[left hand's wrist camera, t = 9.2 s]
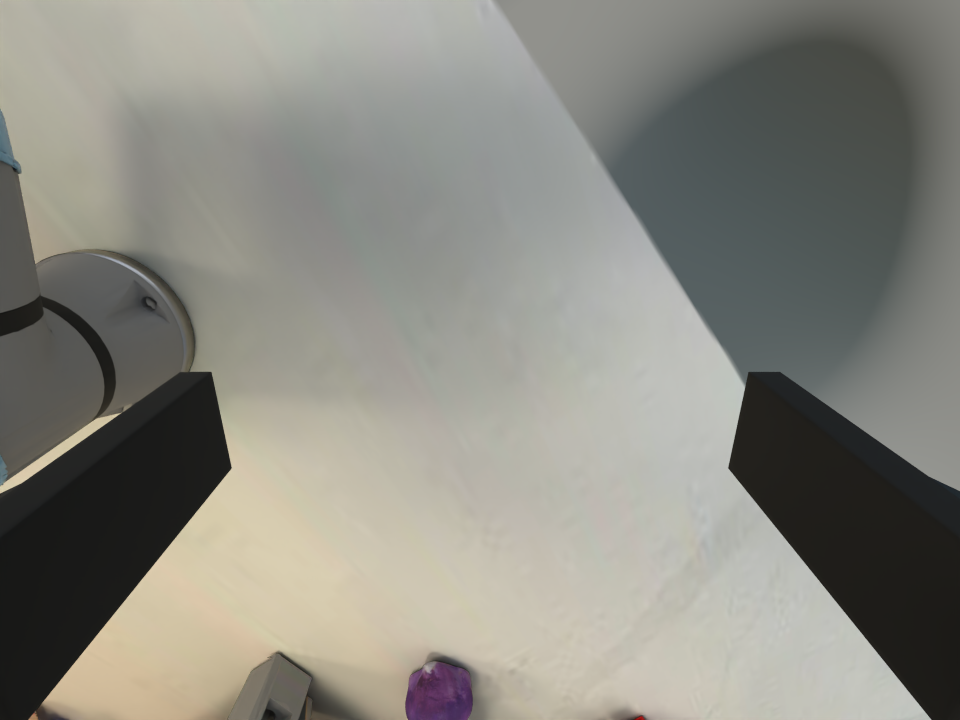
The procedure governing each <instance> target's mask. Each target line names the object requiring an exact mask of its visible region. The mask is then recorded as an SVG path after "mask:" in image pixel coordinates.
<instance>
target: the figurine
mask: <svg viewBox="0 0 960 720" xmlns="http://www.w3.org/2000/svg"><path fill="white" fill-rule="evenodd" d="M471 688H472V686H471V678H470V674H469V672H467V671H466V669H463V668H460V667H459V668H458V667H455V666H452V665H450V664H446V663H443V662H437V661H432V662H427V663H426V664H425V665H424V666H423V669H421V670H419V671H417V672H415V673H413V674H412V675H411V676H410V678H409V687H408V692H407V697H406V703H405V708H406V715H407V718H408V720H467V719H468V717H469V716H470V714H471V711H472V705H473V697H472V689H471Z"/></svg>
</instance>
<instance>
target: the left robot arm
mask: <svg viewBox="0 0 960 720" xmlns="http://www.w3.org/2000/svg"><path fill="white" fill-rule="evenodd" d="M20 173H21V167H20V164H19V163H18V162H17V161H16V160H15V159H14V156H13V152H12V148H11V144H10V139H9V135H8V131H7V127H6V123H5V119H4V116H3V114H2V111H1V109H0V486H1V485H3V483H4V482H6V481H7V480H9V479H10V478H11V477H13V476H14V475H16V474H17V473H19V472H20V471H21V470H23V469H24V468H26V467H27V466H29V465H30V464H31V463H33V462H34V461H36V460H37V459H39V458H40V457H42V456H43V455H44V454H46V453H47V452H49V451H50V450H52V449H53V448H54V447H56V446H57V445H59V444H60V443H62V442H63V441H65V440H66V439H67V438H69V437H70V436H72V435H73V434H75V433H76V432H77V431H79V430H80V429H82V428H83V427H85V426H86V425H87V424H89V423H90V422H92V421H93V420H95V419H96V418H100V417H105V416H109V415H113V414H117V413H121V414H120V415H118V416H117V417H115V418H114V419H113V420H111V421H110V422H108V423H107V424H105V425H104V426H103V427H101V428H100V429H98V430H97V431H96V432H94V433H93V434H91V435H90V436H88V437H87V438H86V439H84V440H83V441H81V442H80V443H78V444H77V445H76V446H74V447H73V448H71V449H70V450H69V451H67V452H66V453H64V454H63V455H61V456H60V457H59V458H57V459H56V460H54V461H53V462H51V463H50V464H49V465H47V466H46V467H44V468H43V469H42V470H40V471H39V472H37V473H36V474H34V475H33V476H32V477H30V478H29V479H27V480H26V481H24V482H23V483H21V484H19V485H17V486H15V487H13V488H11V489H9V490H7V491H5V492H3V493H1V494H0V720H29V718H30V717H31V716H32V715H33V713H34V712H35V711H36V710H37V708H38V707H39V706H40V705H41V704H42V702H43V701H44V700H45V699H46V697H47V696H48V695H49V694H50V692H51V691H52V690H53V689H54V687H55V686H56V685H57V684H58V682H59V681H60V680H61V679H62V678H63V676H64V675H65V674H66V673H67V671H68V670H69V669H70V668H71V666H72V665H73V664H74V663H75V661H76V660H77V659H78V658H79V656H80V655H81V654H82V653H83V652H84V650H85V649H86V648H87V647H88V645H89V644H90V643H91V642H92V640H93V639H94V638H95V637H96V635H97V634H98V633H99V632H100V631H101V629H102V628H103V627H104V626H105V624H106V623H107V622H108V621H109V619H110V618H111V617H112V616H113V614H114V613H115V612H116V611H117V609H118V608H119V607H120V606H121V605H122V603H123V602H124V601H125V600H126V598H127V597H128V596H129V595H130V593H131V592H132V591H133V590H134V588H135V587H136V586H137V585H138V583H139V582H140V581H141V580H142V579H143V577H144V576H145V575H146V574H147V572H148V571H149V570H150V569H151V567H152V566H153V565H154V564H155V562H156V561H157V560H158V559H159V557H160V556H161V555H162V554H163V553H164V551H165V550H166V549H167V548H168V546H169V545H170V544H171V543H172V541H173V540H174V539H175V538H176V536H177V535H178V534H179V533H180V532H181V530H182V529H183V528H184V527H185V525H186V524H187V523H188V522H189V520H190V519H191V518H192V517H193V515H194V514H195V513H196V512H197V510H198V509H199V508H200V507H201V506H202V504H203V503H204V502H205V501H206V499H207V498H208V497H209V496H210V494H211V493H212V492H213V491H214V489H215V488H216V487H217V486H218V484H219V483H220V482H221V481H222V480H223V478H224V477H225V476H226V475H227V473H228V472H229V471H230V470H231V468H232V467H231V463H230V458H229V453H228V448H227V444H226V439H225V434H224V429H223V425H222V420H221V415H220V410H219V406H218V401H217V396H216V391H215V387H214V382H213V377H212V372H188V371H189V369H190V367H191V364H192V360H193V356H194V335H193V330H192V326H191V323H190V320H189V317H188V315H187V313H186V311H185V309H184V307H183V305H182V303H181V302H180V300H179V299H178V297H177V296H176V294H175V293H174V292H173V291H172V289H171V288H170V287H169V286H168V285H167V284H166V283H165V282H164V281H163V280H162V279H161V278H160V277H159V276H157V275H156V274H155V273H154V272H152V271H151V270H149V269H148V268H147V267H145V266H143V265H142V264H140V263H138V262H136V261H134V260H132V259H130V258H128V257H125V256H123V255H120V254H116V253H113V252H108V251H103V250H89V249H87V250H77V251H72V252H67V253H63V254H58V255H55V256H51V257H48V258H46V259H44V260H42V261H40V262H38V263H37V264H35V260H34V255H33V250H32V245H31V239H30V234H29V229H28V224H27V218H26V213H25V208H24V203H23V197H22V192H21V187H20V182H19V176H18V174H20ZM728 468H729V470H730V471H731V472H732V473H733V475H734V476H735V477H736V478H737V480H738V481H739V482H740V483H741V484H742V486H743V487H744V488H745V489H746V491H747V492H748V493H749V494H750V496H751V497H752V498H753V499H754V501H755V502H756V503H757V504H758V506H759V507H760V508H761V509H762V510H763V512H764V513H765V514H766V515H767V517H768V518H769V519H770V520H771V522H772V523H773V524H774V525H775V527H776V528H777V529H778V530H779V532H780V533H781V534H782V535H783V536H784V538H785V539H786V540H787V541H788V543H789V544H790V545H791V546H792V548H793V549H794V550H795V551H796V553H797V554H798V555H799V556H800V557H801V559H802V560H803V561H804V562H805V564H806V565H807V566H808V567H809V569H810V570H811V571H812V572H813V574H814V575H815V576H816V577H817V579H818V580H819V581H820V582H821V583H822V585H823V586H824V587H825V588H826V590H827V591H828V592H829V593H830V595H831V596H832V597H833V598H834V600H835V601H836V602H837V603H838V605H839V606H840V607H841V608H842V609H843V611H844V612H845V613H846V614H847V616H848V617H849V618H850V619H851V621H852V622H853V623H854V624H855V626H856V627H857V628H858V629H859V631H860V632H861V633H862V634H863V635H864V637H865V638H866V639H867V640H868V642H869V643H870V644H871V645H872V647H873V648H874V649H875V650H876V652H877V653H878V654H879V655H880V656H881V658H882V659H883V660H884V661H885V663H886V664H887V665H888V666H889V668H890V669H891V670H892V671H893V673H894V674H895V675H896V676H897V678H898V679H899V680H900V681H901V682H902V684H903V685H904V686H905V687H906V689H907V690H908V691H909V692H910V694H911V695H912V696H913V697H914V699H915V700H916V701H917V702H918V704H919V705H920V706H921V707H922V708H923V710H924V711H925V712H926V713H927V715H928V716H929V717H930V718H931V720H960V491H958V490H956V489H954V488H952V487H949V486H947V485H945V484H943V483H941V482H939V481H937V480H935V479H933V478H931V477H928V476H927V475H926V474H924V473H923V472H921V471H920V470H918V469H917V468H916V467H914V466H913V465H911V464H910V463H909V462H907V461H906V460H904V459H903V458H901V457H900V456H899V455H897V454H896V453H894V452H893V451H891V450H890V449H889V448H887V447H886V446H884V445H883V444H882V443H880V442H879V441H877V440H876V439H874V438H873V437H872V436H870V435H869V434H867V433H866V432H864V431H863V430H862V429H860V428H859V427H857V426H856V425H855V424H853V423H852V422H850V421H849V420H847V419H846V418H845V417H843V416H842V415H840V414H839V413H837V412H836V411H835V410H833V409H832V408H830V407H829V406H828V405H826V404H825V403H823V402H822V401H820V400H819V399H818V398H816V397H815V396H813V395H812V394H810V393H809V392H808V391H806V390H805V389H803V388H802V387H800V386H799V385H798V384H796V383H795V382H793V381H792V380H791V379H789V378H788V377H786V376H785V375H783V374H782V373H781V372H749V373H748V377H747V382H746V387H745V391H744V396H743V401H742V406H741V410H740V415H739V420H738V425H737V429H736V434H735V439H734V444H733V448H732V453H731V458H730V463H729V467H728Z"/></svg>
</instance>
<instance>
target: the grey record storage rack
mask: <svg viewBox="0 0 960 720" xmlns="http://www.w3.org/2000/svg"><path fill="white" fill-rule="evenodd" d="M267 658H272V659H270V660H269V661H267V662H265V663H264V664H262V665H261V666H259V667H258V668H256V669H254V670H253V671H251V672H250V674H249V676H248V678H247V680H246V682H245V684H244V687H243V689H242V691H241V693H240V695H239V697H238V699H237V701H236V703H235V705H234V707H233V709H232V711H231V713H230V715H229V717H228V719H227V720H311V710H312V701H313V699H311V698H309V697H306V695H307V692H308V689H309V686H310V683H311V680H312V677H310V676H309V675H307V674H306V673H304V672H303V671H301V670H300V669H299V668H297V667H296V666H294V665H293V664H291V663H290V662H289V661H287V660H286V659H284V658H283V657H282V656H281V655H280V654H275V655H272V656H270V657H267ZM305 698H306V699H305ZM304 701H305V702H304Z"/></svg>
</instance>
